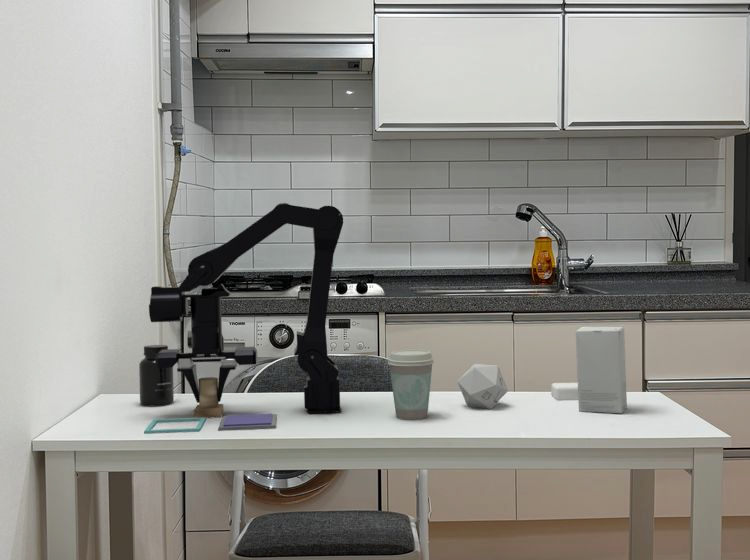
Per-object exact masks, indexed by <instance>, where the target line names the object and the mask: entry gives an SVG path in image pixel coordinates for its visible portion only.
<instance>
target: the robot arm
mask: <svg viewBox="0 0 750 560" xmlns="http://www.w3.org/2000/svg"><path fill="white" fill-rule="evenodd" d="M287 224H288V225H291V226H298V227H304V228H310V229H312V236H313V251H314V255H313V263H312V265H313V266H312V273H311V281H310V282H311V283H310V290H309V292H310V293H309V299H308V309H307V316H306V323H305V327H304V330H303V332H301V331H296V346H295V348H294V350H293V351H294V352H293V354H294V357H297V364H298V366H299V368H300V369H301V370H302V371H303V372H305V373H307V374H308V376H309V377H306V385H304V386H303V395H304V396H303V401H304V405H303V406H304V409H305V410H306V413H307V414H323V413H341V412H342V407H341V386H340V384H341V383H340V382H341V381H340V377H339V374H340V372H339V367H338V365H337V363H336V362H334V361H333V360H332V359H331V358H330V357H329V355H328V347H327V346H328V344H327V342H328V341H327V331H326V323H327V321H326V320H327V315H328V313H327V312H328V305H329V295H330V287H331V280H332V271H333V270H332V269H333V261H334V254H335V252H336V251H335V250H336V249H337V245H338V241H339V239H340V236H341V231H342V228H343V225H344V217H343V214H342V212H341V211H340V210H339V209H338V208H337V207H336V206H332V205H323V206H321V207H319V208H312V207H306V206H300V205H299V206H298V205H293V204H289V203H287V202H280V203H278V204H276V205H275V206H274V208H273V209H272V210H271V211H269V212H267V213H266V214H265V215H263V216H262V217H260V218H259V219H258V220H256V221H255V222H253V223H252V224H250V226H248V227H246V228H245V229H243V230H242V231H241V232H240V233H238V234H237V235H235V236H234V237H232V238H231V239H229V241H228V240H227V242H226V243H224V244H221V245H219V246H217V247H214V248H212V249H211V250H208V251H206V252H204V253H202V254H200V255H198V256H195V257H194V258H193V259H191V261H189V264H188V265H187V266H188V268H187V273H188V274H187V275H186V277H185V278H184V279H183V281H182V282H180V285H179V286H168V287H167V286H158V285H157V286H156V285H155V286H152V287H151V288H150V297H149V305H148V315H149V320H150V322H151V323H173V322H174V323H175V322H178V323H179V322H182V321H183V319H184V318H183V317H187V316H188V315H189V299H190V327H191V328H190V331H189V330H188V331H187V338H186V339H187V341H186V342H187V348H188V349H191V352H181V349H180V348H174V349H171V348H170V349H169V348H168V350H161V351H160V352H159V353H158V354H157V355H156V359H155V360H156V368H168V367H173V368H174V366H175V365H176V364H177V369H176V370H177V372H179V373H182V374H183V375H184V377H185V379H186V381H187V383H188V384H189V387H190V389H191V391H192V394H193V397H194V399H195V401H196V404H197V403H198V404H199V379H198V376H197V375H198V374H197V373H198V372H197V363H207V362H208V363H211V362H212V363H213V362H215V363H216V362H220V364H221V365H220V366H219V369H218V370H219V373H218V403H219V402H221V401H222V400H221V399H222V396H223V393H224V389H225V385H226V382H227V380H228V377H229V374H230V371H233V370H237V369H236V368H237V366H247V365H249V366H250V365H257V364H258V363H257V362H258V349H257V348H256V347H255V346H238V347H236V348H235V350H234V351H225V345H224V344H225V341H224V340H225V339H224V336H223V332H222V331H223V326H222V325H223V324H222V323H223V322H222V300H221V299H222V298H228V297H230V296H231V294H232V293H231V291H230V290H228V289H227V288H226V287H225V286H224V284H223V283H220V285H218V287H212V288H211V287H210V288H206V286H210V285H211V284H213V283H215V282H216V281H218V280H219V279H220V278H221V277H222V275H224V274H225V273H226V272H227V271H228V270H229V268H230V267H231V266H232V265H233V264H235V262H236V261H237V260H238V259H239V258H240V257H241V256H243V255H244V254H246V253H247V252H249V251H250V250H251V249H253V248H255V246H257V245H258V244H260V243H261V242H263V241H264V240H265V239H267V238H268V237H270V236H271V235H272V234H274V233H275V232H277V231H278V230H279V229H281V228H283V226H286V225H287ZM200 286H201V287H205V288H202V289H201V292H200V293H190V292H191V291H193V290H196V289H197V288H199V287H200ZM185 292H186V293H185Z"/></svg>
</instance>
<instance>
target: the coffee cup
mask: <svg viewBox="0 0 750 560" xmlns="http://www.w3.org/2000/svg"><path fill="white" fill-rule="evenodd" d="M434 363H435V362H434V358H433V355H432V352H431V351H429V350H425V349H401V350H399V349H398V350H395V351H391V352H390V354H389V357H388V362H387V364H388V366H389V372H390V379H391V380H390V381H391V389H392V395H393V396H392V397H393V403H394V408H395V417H396V418H397V419H400V420H405V421H406V420H407V421H412V420H413V421H414V420H415V421H416V420H422V419H423V420H424V419H426V418H428V413H429V403H430V394H431V393H430V391H431V383H432V371H433V370H432V369H433V364H434Z"/></svg>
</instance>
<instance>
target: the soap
mask: <svg viewBox="0 0 750 560" xmlns="http://www.w3.org/2000/svg"><path fill="white" fill-rule="evenodd" d="M550 395H551V397H552V398H554V399H555V400H556V401H578V382H553V383H552V384H551V385H550Z"/></svg>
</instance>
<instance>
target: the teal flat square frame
mask: <svg viewBox="0 0 750 560" xmlns="http://www.w3.org/2000/svg"><path fill="white" fill-rule="evenodd" d="M206 419H207V418H206V417H204V418H194V417H187V418H186V417H184V418H181V417H180V418H162V419H161V418H159V419H158V418H157V419H152V421H151V422H150V423H149V425H148V426H147V427H146V428H145V429H144V431H143V433H144V434H156V433H155V432H166V433H183V432H184V433H185V432H186V433H187V432H189V433H190V432H201V430H202V429H203V426H204V424H205V422H206ZM171 421H180V422H198V423H197V425H196V427H189V428H187V427H185V428H165V429H153V428H154V427H155V426H156V425H155V424H158V423H172V422H171ZM154 425H155V426H154ZM151 429H152V430H151ZM153 432H154V433H153Z"/></svg>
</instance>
